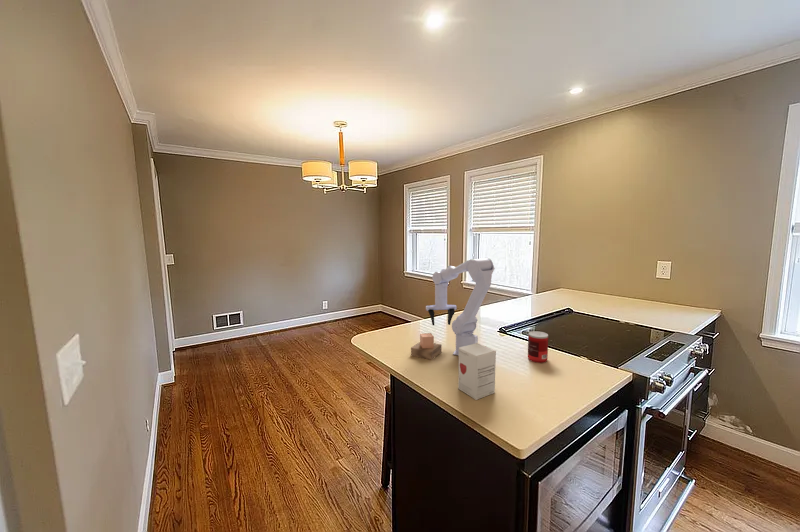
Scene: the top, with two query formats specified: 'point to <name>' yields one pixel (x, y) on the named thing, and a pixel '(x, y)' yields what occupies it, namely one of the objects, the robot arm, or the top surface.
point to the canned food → (537, 346)
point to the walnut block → (426, 351)
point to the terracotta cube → (427, 340)
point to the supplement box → (477, 370)
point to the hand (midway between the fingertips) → (441, 324)
